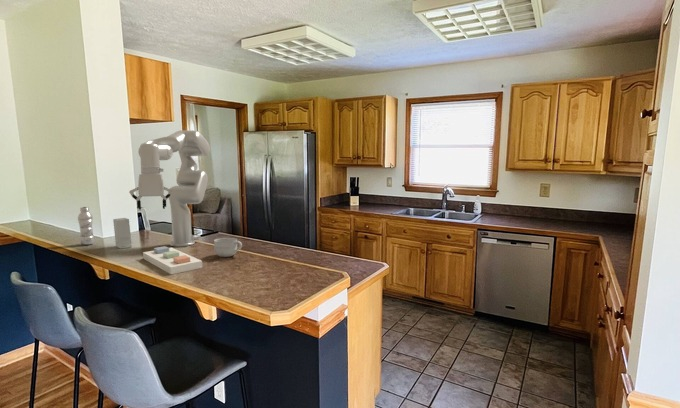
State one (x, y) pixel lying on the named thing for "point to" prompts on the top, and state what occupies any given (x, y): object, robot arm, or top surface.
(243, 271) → the top surface
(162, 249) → the slate button
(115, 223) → the skincare box
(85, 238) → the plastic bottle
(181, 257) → the terracotta button
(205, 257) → the top surface
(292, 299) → the top surface
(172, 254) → the sage button
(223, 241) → the teacup
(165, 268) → the button panel
